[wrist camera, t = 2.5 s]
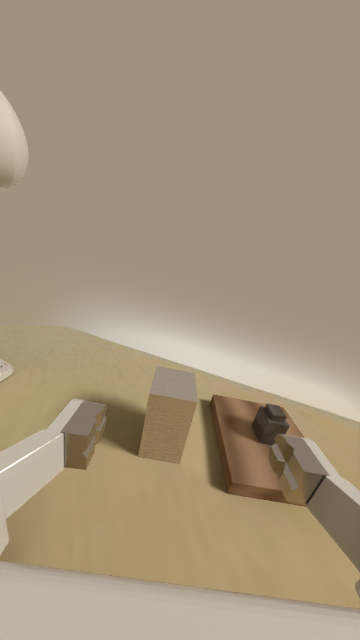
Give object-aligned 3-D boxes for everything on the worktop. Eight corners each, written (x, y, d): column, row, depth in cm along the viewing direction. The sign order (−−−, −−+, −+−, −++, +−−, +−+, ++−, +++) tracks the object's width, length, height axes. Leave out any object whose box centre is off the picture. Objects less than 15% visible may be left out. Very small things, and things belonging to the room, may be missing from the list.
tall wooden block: (138, 456, 22) (149, 393, 19) (146, 420, 27) (156, 366, 24) (179, 463, 22) (197, 402, 19) (180, 426, 28) (194, 373, 25)
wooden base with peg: (227, 493, 20) (246, 451, 18) (210, 402, 34) (220, 372, 32) (340, 512, 21) (371, 473, 19) (279, 415, 34) (293, 386, 32)
